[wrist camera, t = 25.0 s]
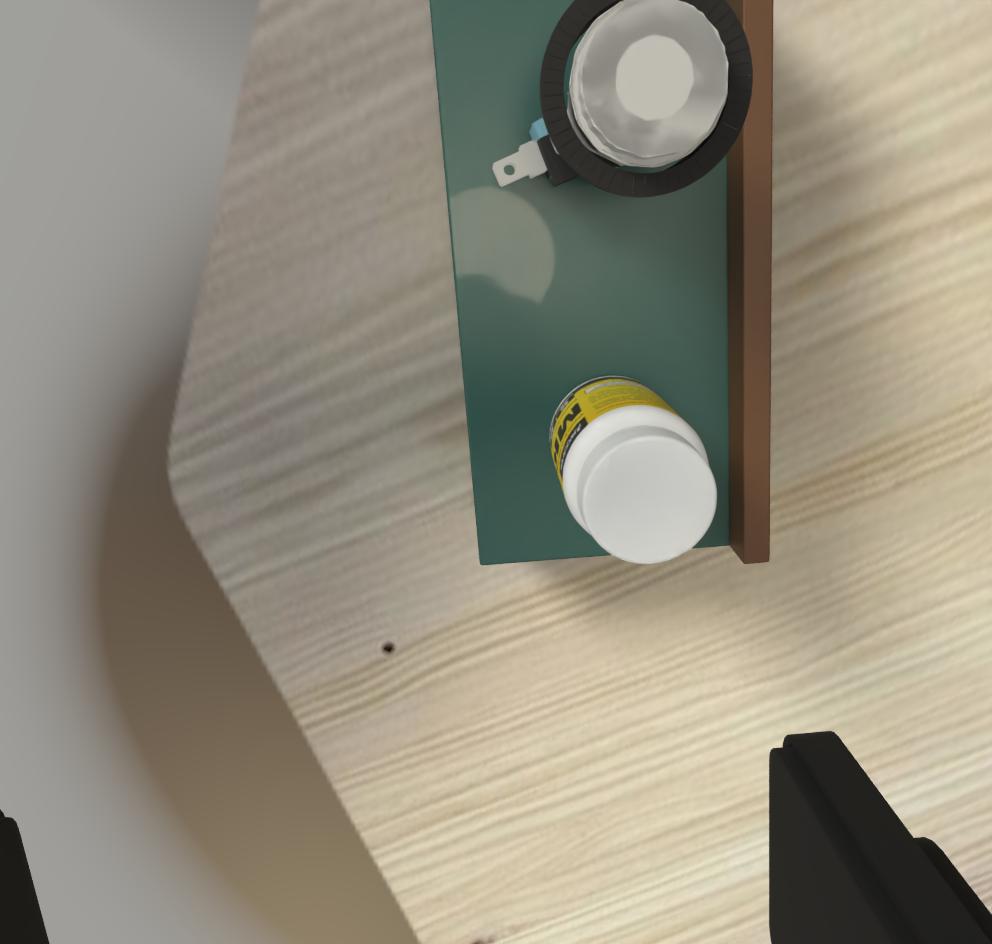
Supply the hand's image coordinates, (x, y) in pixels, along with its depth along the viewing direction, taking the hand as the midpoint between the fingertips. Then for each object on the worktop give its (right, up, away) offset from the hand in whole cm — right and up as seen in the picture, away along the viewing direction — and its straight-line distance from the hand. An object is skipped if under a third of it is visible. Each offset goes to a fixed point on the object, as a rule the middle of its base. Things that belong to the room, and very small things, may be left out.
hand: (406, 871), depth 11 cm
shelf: (+5, +14, +27) cm, 31 cm away
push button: (+4, +17, +20) cm, 26 cm away
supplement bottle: (+5, +6, +23) cm, 24 cm away
